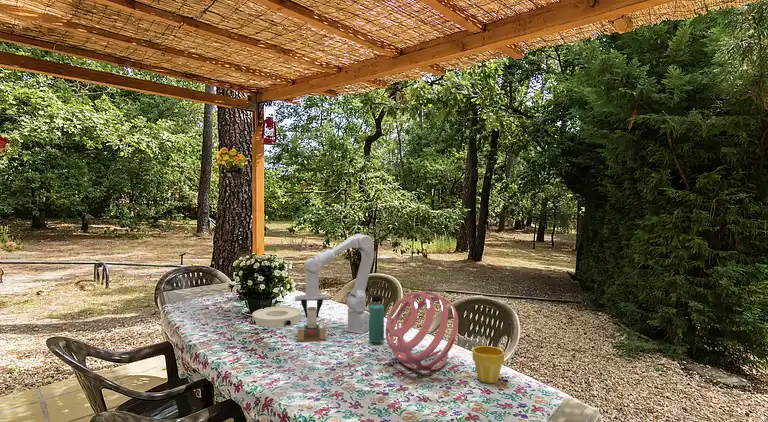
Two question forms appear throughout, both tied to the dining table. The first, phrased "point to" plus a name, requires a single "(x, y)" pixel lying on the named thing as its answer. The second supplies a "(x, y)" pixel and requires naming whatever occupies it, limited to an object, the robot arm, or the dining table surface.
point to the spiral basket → (404, 347)
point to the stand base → (311, 334)
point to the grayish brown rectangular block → (311, 317)
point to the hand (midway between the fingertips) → (311, 317)
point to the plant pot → (488, 363)
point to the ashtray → (276, 316)
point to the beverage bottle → (376, 320)
